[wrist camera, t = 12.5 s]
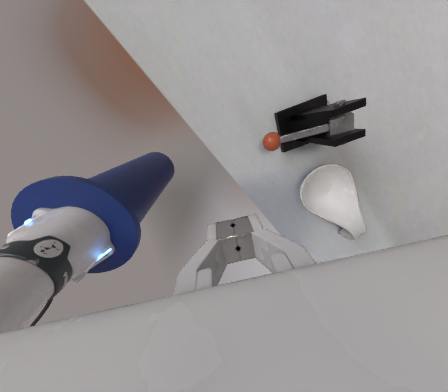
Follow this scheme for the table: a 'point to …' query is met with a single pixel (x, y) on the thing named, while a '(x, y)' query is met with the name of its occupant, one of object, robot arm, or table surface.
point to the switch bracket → (316, 121)
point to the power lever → (311, 131)
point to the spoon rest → (334, 198)
